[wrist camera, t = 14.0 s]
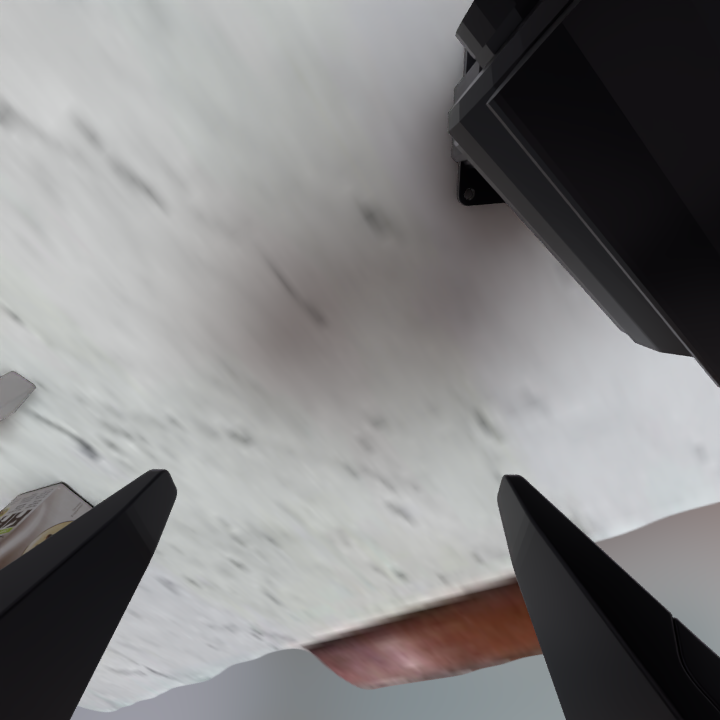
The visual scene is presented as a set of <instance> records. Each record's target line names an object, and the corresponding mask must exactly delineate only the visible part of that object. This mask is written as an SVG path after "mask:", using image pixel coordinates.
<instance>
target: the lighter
mask: <svg viewBox="0 0 720 720" xmlns="http://www.w3.org/2000/svg"><path fill="white" fill-rule="evenodd" d="M35 388H36V387H35V385H34V384H32V383H31V382H29V381H28V380H26V379H25V378H23V377H22V376H20V375H19V374H17V373H16V372H12V371H11V372H9V373H7V374H5V375H3V376H2V377H0V421H1V420H3V419H4V418H6V417H7V416H9V415H11V414H12V413H14V412H15V411H16V410H17V409H18V408H19V406H20V405H21V404H22V403H23V402H24V400H25V399H26V398H27V397H28V396H29V395H30V393H31V392H32V391H33V390H34V389H35Z"/></svg>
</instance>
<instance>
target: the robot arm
mask: <svg viewBox="0 0 720 720" xmlns="http://www.w3.org/2000/svg"><path fill="white" fill-rule="evenodd" d="M456 37H457V38H458V40H459V41H460V42H461V43H462V45H463V46H464V47H465V62H464V77H463V78H462V80H461V81H460V82H459V84H458V85H457V86H456V87H455V90H454V106H453V107H452V109H451V110H450V111H449V113H448V131H447V132H448V133H449V134H450V136H451V137H452V152H451V157H452V158H453V159H454V161H455V162H459V167H458V185H457V199H458V201H459V203H461V204H462V205H466V206H472V205H483V204H494V203H507V204H508V205H509V207H510V208H511V209H512V210H513V211H514V212H515V213H516V214H517V215H518V217H519V218H520V219H521V220H522V221H523V222H524V223H525V224H526V225H527V227H528V228H529V229H530V230H531V231H532V232H533V233H534V234H535V236H536V237H537V238H538V239H539V240H540V241H541V242H542V243H543V244H544V246H545V247H546V248H547V249H548V250H549V251H550V252H551V253H552V255H553V256H554V257H555V258H556V259H557V260H558V261H559V262H560V263H561V265H562V266H563V267H564V268H565V269H566V270H567V271H568V272H569V274H570V275H571V276H572V277H573V278H574V279H575V280H576V281H577V282H578V284H579V285H580V286H581V287H582V288H583V289H584V290H585V291H586V292H587V294H588V295H589V296H590V297H591V298H592V299H593V300H594V301H595V303H596V304H597V305H598V306H599V307H600V308H601V309H602V310H603V311H604V313H605V314H606V315H607V316H608V317H609V318H610V319H611V320H612V322H613V323H614V324H615V325H616V326H617V327H618V328H619V329H620V330H621V331H622V332H624V333H626V334H627V335H629V337H630V338H631V339H632V340H633V341H634V342H635V343H637V344H640V345H643V346H645V347H648V348H650V349H653V350H656V351H658V352H662V353H669V354H676V355H683V356H690V357H694V358H695V360H696V361H697V362H698V363H699V364H700V366H701V367H702V368H703V369H704V371H705V372H706V373H707V374H708V375H709V377H710V378H711V379H712V380H713V382H714V383H715V384H716V385H717V386H718V387H720V0H474V1H473V3H472V5H471V7H470V8H469V10H468V12H467V13H466V15H465V17H464V18H463V20H462V22H461V24H460V26H459V28H458V30H457V32H456ZM469 188H471V189H472V191H473V195H472V197H471V198H470V199H468V200H466V199H465V198H464V193H465V191H466V190H467V189H469ZM176 496H177V489H176V486H175V484H174V482H173V480H172V478H171V475H170V473H169V472H168V471H167V470H165V469H152V470H149V471H147V472H146V473H144V474H143V475H141V476H140V477H138V478H137V479H135V480H134V481H132V482H131V483H129V484H128V485H126V486H125V487H123V488H122V489H120V490H119V491H117V492H116V493H114V494H113V495H111V496H110V497H108V498H107V499H105V500H104V501H102V502H101V503H99V504H98V505H97V506H95V507H94V508H92V509H91V510H89V511H88V512H86V513H85V514H83V515H82V516H80V517H79V518H77V519H76V520H74V521H73V522H71V523H70V524H68V525H67V526H65V527H64V528H62V529H61V530H59V531H58V532H56V533H55V534H53V535H52V536H50V537H49V538H47V539H46V540H44V541H43V542H41V543H40V544H38V545H37V546H35V547H34V548H32V549H31V550H29V551H28V552H26V553H25V554H23V555H22V556H20V557H19V558H17V559H16V560H14V561H13V562H11V563H10V564H8V565H7V566H5V567H4V568H2V569H1V570H0V720H70V719H71V717H72V715H73V713H74V711H75V709H76V707H77V705H78V703H79V701H80V699H81V697H82V695H83V693H84V691H85V689H86V687H87V685H88V683H89V681H90V679H91V677H92V675H93V673H94V671H95V669H96V667H97V665H98V663H99V661H100V659H101V657H102V656H103V654H104V652H105V650H106V648H107V646H108V644H109V642H110V640H111V638H112V636H113V634H114V632H115V630H116V628H117V626H118V624H119V622H120V620H121V618H122V616H123V614H124V612H125V610H126V608H127V606H128V604H129V602H130V600H131V598H132V596H133V594H134V592H135V590H136V588H137V586H138V584H139V582H140V581H141V579H142V577H143V575H144V573H145V571H146V569H147V567H148V565H149V563H150V560H151V558H152V556H153V554H154V552H155V549H156V547H157V545H158V542H159V540H160V537H161V535H162V532H163V530H164V527H165V525H166V522H167V520H168V517H169V515H170V512H171V510H172V507H173V505H174V502H175V500H176ZM497 502H498V507H499V511H500V516H501V520H502V524H503V528H504V532H505V536H506V541H507V545H508V549H509V553H510V557H511V561H512V565H513V568H514V571H515V575H516V578H517V581H518V583H519V586H520V589H521V592H522V595H523V598H524V601H525V604H526V606H527V609H528V612H529V615H530V618H531V621H532V624H533V626H534V629H535V632H536V635H537V638H538V641H539V644H540V647H541V649H542V652H543V655H544V658H545V661H546V664H547V667H548V669H549V672H550V675H551V678H552V681H553V684H554V687H555V690H556V692H557V695H558V698H559V701H560V704H561V707H562V709H563V712H564V715H565V718H566V720H720V657H719V656H718V655H717V654H716V653H715V652H713V651H712V650H711V649H710V648H709V647H708V646H707V645H706V644H704V643H703V642H702V641H701V640H700V639H699V638H698V637H697V636H696V635H694V634H693V633H692V632H691V631H690V630H689V629H688V628H687V627H686V626H685V625H684V624H682V623H681V622H680V621H679V620H678V619H677V618H675V617H674V618H673V617H672V614H671V613H670V612H669V611H668V610H667V609H666V608H665V607H664V606H663V605H661V603H659V602H658V601H657V600H656V599H655V598H654V597H653V596H652V595H651V594H650V593H649V592H647V591H646V590H645V589H644V588H643V587H642V586H641V585H640V584H639V583H638V582H637V581H635V580H634V579H633V578H632V577H631V576H630V575H629V574H628V573H627V572H626V571H625V570H624V569H622V568H621V567H620V566H619V565H618V564H617V563H616V562H615V561H614V560H613V559H612V558H611V557H609V556H608V555H607V554H606V553H605V552H604V551H603V550H602V549H601V548H599V547H598V546H597V545H596V544H595V543H594V542H593V541H592V540H591V539H590V538H589V537H588V536H587V535H585V534H584V533H583V532H582V531H581V530H580V529H579V528H578V527H577V526H576V525H575V524H574V523H572V522H571V521H570V520H569V519H568V518H567V517H566V516H565V515H564V514H563V513H562V512H560V511H559V510H558V509H557V508H556V507H555V506H554V505H553V504H552V503H551V502H550V501H548V500H547V499H546V498H545V497H544V496H543V495H542V494H541V493H540V492H539V491H538V490H537V489H535V488H534V487H533V486H532V485H531V484H530V483H529V482H528V481H527V480H526V479H525V478H523V477H522V476H520V475H504V476H503V477H502V480H501V484H500V488H499V492H498V496H497Z"/></svg>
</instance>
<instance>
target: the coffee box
mask: <svg viewBox="0 0 720 720" xmlns="http://www.w3.org/2000/svg"><path fill="white" fill-rule="evenodd" d="M91 509H92V507H91V506H90V505H88V504H87V503H86V502H85V501H83V500H82V499H81V498H80V497H78V496H77V495H76V494H75V493H73V492H72V491H71V490H70V489H68V488H67V487H66V486H65V485H63V484H57V485H53V486H50V487H46V488H43V489H39V490H36V491H32V492H28V493H25V494H22V495H19V496H17V497H16V498H15V499H14V500H13V501H12V502H11V503H10V504H8V505H7V506H6V507H5V508H4V509H3V510H2V511H1V512H0V570H1V569H2V568H4V567H5V566H7V565H8V564H10V563H11V562H13V561H14V560H16V559H17V558H19V557H20V556H22V555H23V554H25V553H26V552H28V551H29V550H31V549H32V548H34V547H35V546H37V545H38V544H40V543H41V542H43V541H44V540H46V539H47V538H49V537H50V536H52V535H53V534H55V533H56V532H58V531H59V530H61V529H62V528H64V527H65V526H67V525H68V524H70V523H71V522H73V521H74V520H76V519H77V518H79V517H80V516H82V515H83V514H85V513H86V512H88V511H89V510H91Z"/></svg>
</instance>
